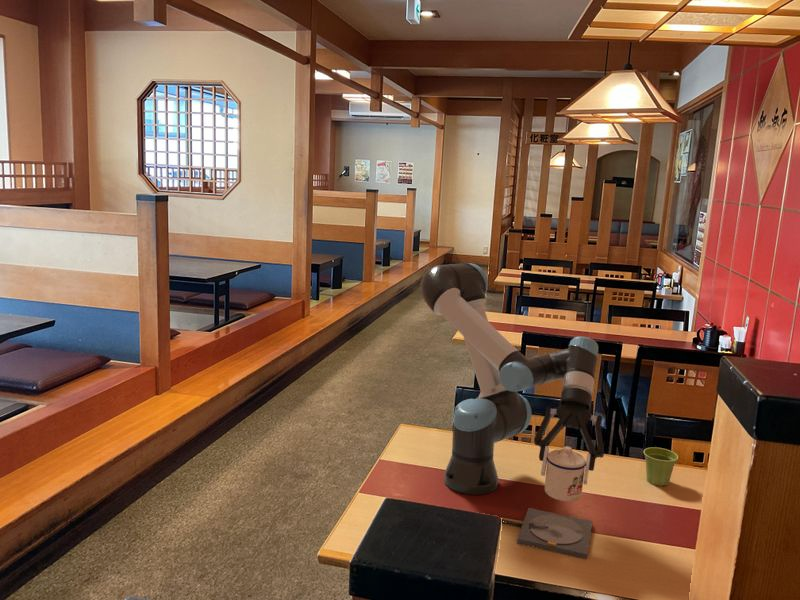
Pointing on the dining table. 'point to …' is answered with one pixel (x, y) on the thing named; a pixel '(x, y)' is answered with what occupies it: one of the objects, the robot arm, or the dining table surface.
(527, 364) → the robot arm
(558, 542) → the cup warmer plate
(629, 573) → the dining table surface
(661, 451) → the plant pot
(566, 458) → the teacup with lid
